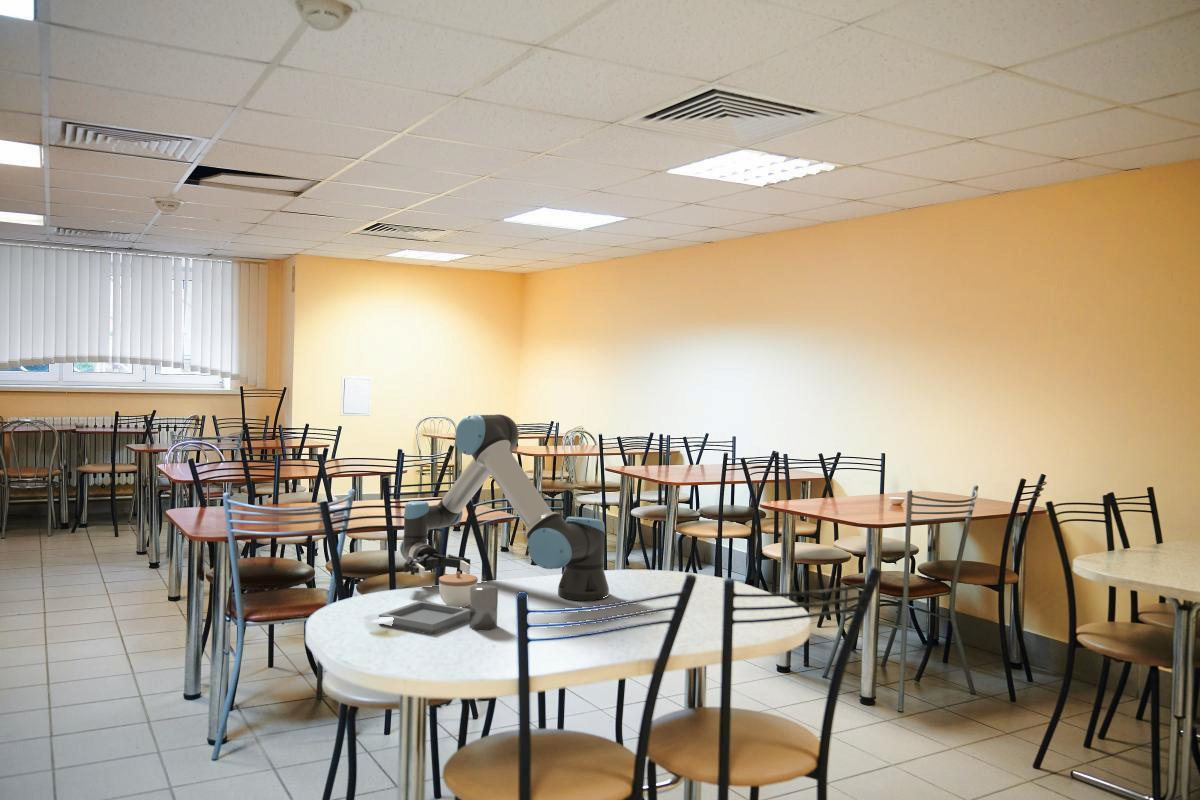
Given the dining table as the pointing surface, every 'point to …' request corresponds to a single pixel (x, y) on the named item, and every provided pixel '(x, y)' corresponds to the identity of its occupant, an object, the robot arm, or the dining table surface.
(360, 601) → the dining table surface
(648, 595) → the dining table surface
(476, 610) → the metal tin
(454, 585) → the lidded jar
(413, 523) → the robot arm
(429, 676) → the dining table surface
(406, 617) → the tray
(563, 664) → the dining table surface
